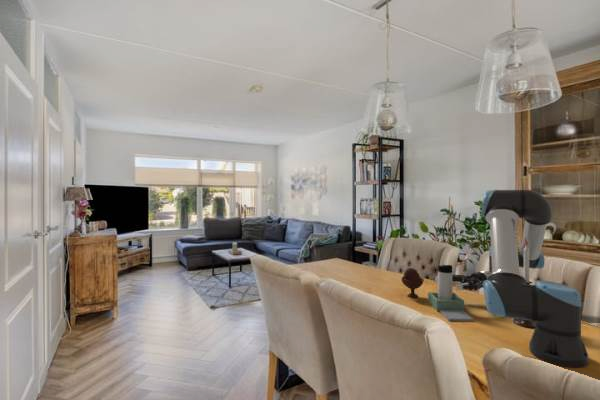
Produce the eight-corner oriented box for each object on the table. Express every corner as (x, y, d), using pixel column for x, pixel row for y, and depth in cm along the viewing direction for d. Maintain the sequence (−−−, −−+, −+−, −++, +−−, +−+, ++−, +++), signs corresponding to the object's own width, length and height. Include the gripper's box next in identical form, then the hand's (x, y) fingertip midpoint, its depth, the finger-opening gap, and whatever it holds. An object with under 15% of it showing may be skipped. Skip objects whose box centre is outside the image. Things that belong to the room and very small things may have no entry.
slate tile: (473, 321, 135) (473, 318, 135) (448, 320, 136) (448, 318, 136) (462, 312, 145) (462, 310, 145) (440, 312, 146) (440, 309, 146)
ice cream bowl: (425, 300, 162) (425, 270, 161) (402, 299, 164) (402, 269, 164) (422, 293, 172) (422, 265, 172) (400, 292, 174) (400, 265, 174)
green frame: (464, 311, 146) (464, 300, 146) (436, 311, 147) (436, 300, 147) (453, 302, 158) (453, 292, 158) (428, 302, 159) (428, 292, 158)
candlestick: (505, 318, 138) (505, 235, 137) (534, 319, 136) (533, 236, 135) (518, 328, 127) (518, 239, 126) (549, 330, 125) (549, 239, 125)
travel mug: (444, 310, 148) (444, 266, 148) (435, 305, 155) (434, 263, 154) (456, 308, 150) (455, 265, 149) (446, 303, 156) (445, 262, 156)
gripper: (504, 294, 146) (465, 299, 141) (462, 280, 170) (428, 284, 165) (504, 278, 146) (465, 282, 140) (462, 266, 170) (428, 269, 164)
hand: (445, 283), depth 153 cm, fingers open, 13 cm apart
